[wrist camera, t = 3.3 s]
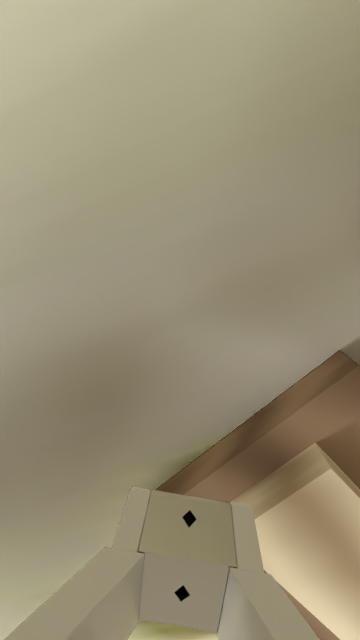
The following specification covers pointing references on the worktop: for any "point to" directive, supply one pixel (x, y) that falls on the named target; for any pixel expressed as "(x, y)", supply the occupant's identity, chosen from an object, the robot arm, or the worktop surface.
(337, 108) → the worktop surface
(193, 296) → the worktop surface
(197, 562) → the robot arm
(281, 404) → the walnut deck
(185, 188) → the worktop surface
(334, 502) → the birch tile
